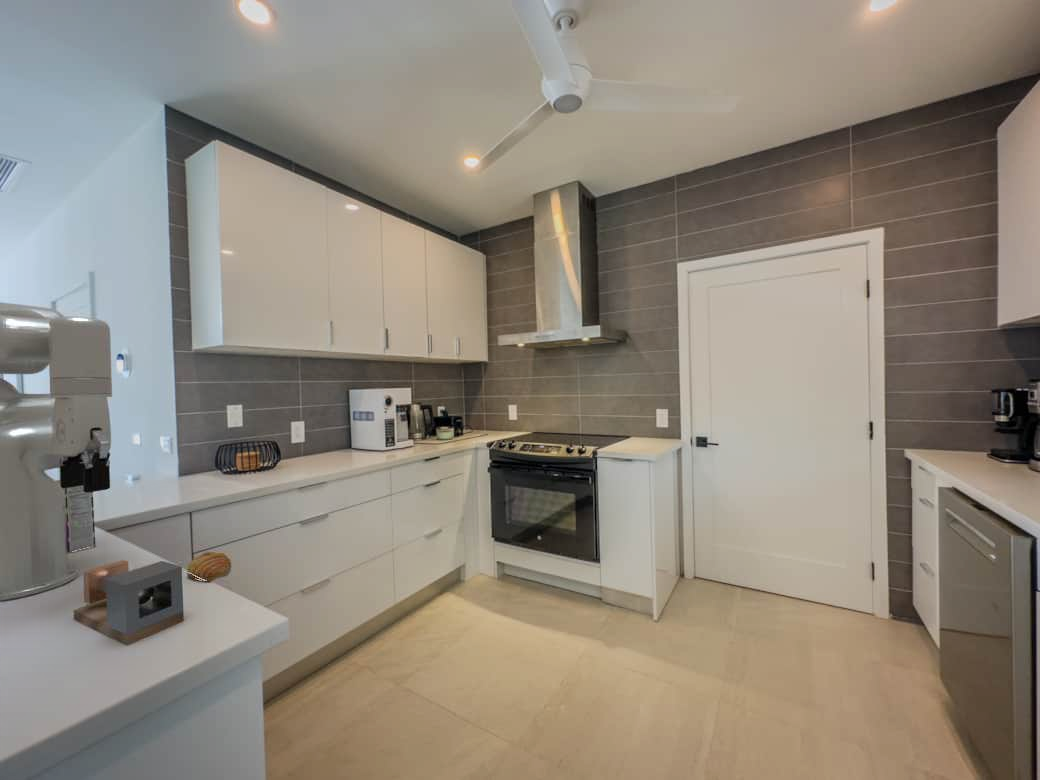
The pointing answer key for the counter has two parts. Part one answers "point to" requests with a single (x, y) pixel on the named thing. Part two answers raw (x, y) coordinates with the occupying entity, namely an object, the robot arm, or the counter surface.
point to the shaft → (97, 582)
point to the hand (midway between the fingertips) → (85, 488)
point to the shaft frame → (137, 603)
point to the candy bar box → (78, 518)
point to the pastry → (209, 566)
